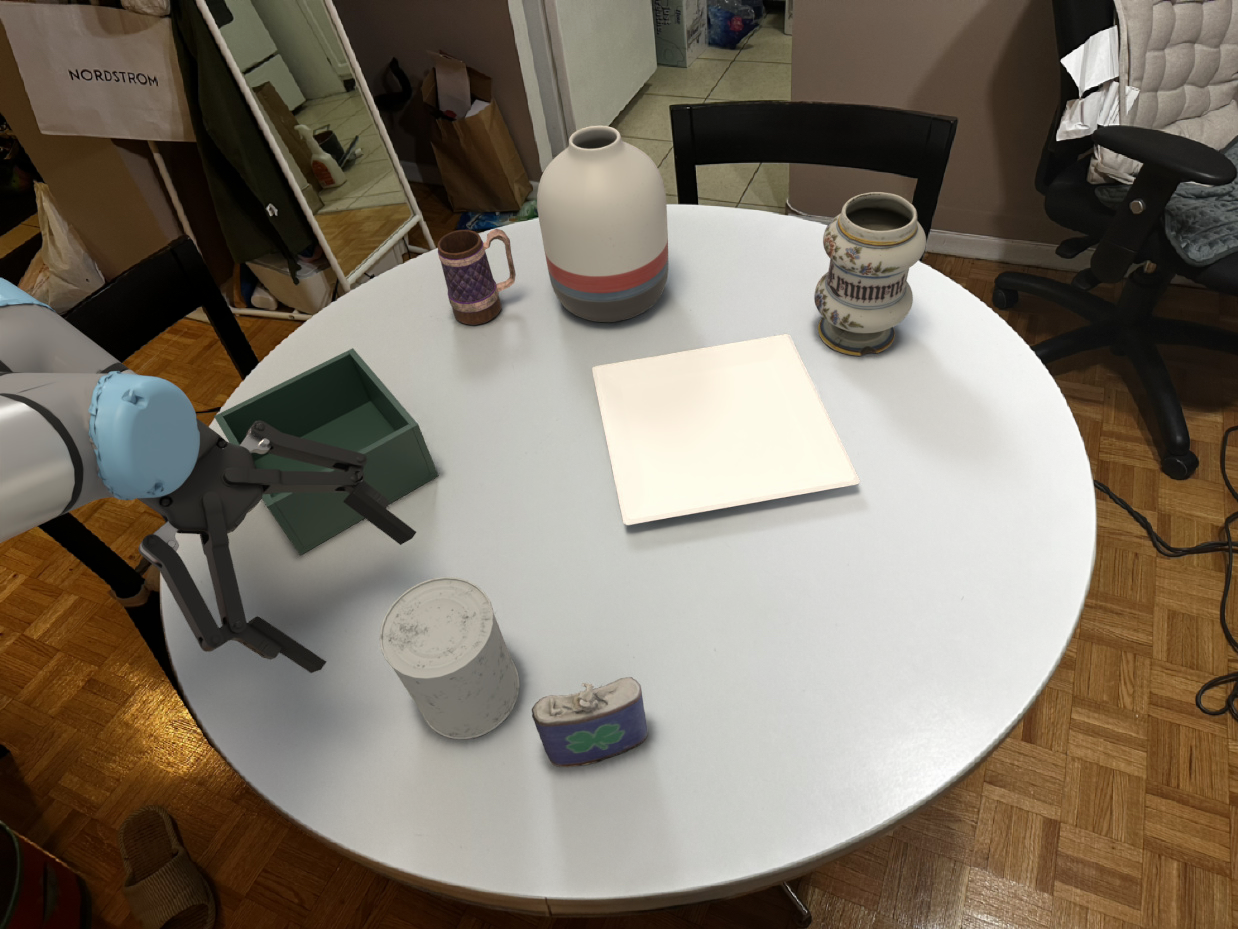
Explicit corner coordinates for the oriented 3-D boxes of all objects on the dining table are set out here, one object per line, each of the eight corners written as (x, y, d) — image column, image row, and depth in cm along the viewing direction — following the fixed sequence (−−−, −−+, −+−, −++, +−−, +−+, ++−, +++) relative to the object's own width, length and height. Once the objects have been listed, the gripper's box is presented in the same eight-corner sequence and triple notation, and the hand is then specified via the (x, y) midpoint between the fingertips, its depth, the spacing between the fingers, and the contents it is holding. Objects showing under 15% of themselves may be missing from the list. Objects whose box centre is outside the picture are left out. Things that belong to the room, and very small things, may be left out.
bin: (300, 555, 87) (266, 506, 80) (247, 466, 97) (213, 415, 90) (438, 475, 93) (418, 424, 86) (375, 399, 103) (352, 347, 96)
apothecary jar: (832, 370, 99) (852, 247, 86) (796, 314, 107) (809, 194, 94) (921, 350, 100) (954, 225, 87) (878, 296, 108) (903, 174, 95)
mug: (456, 331, 111) (434, 258, 102) (451, 301, 116) (430, 230, 107) (526, 316, 112) (511, 243, 103) (519, 287, 117) (504, 215, 108)
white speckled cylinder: (456, 631, 79) (423, 562, 69) (538, 666, 75) (514, 599, 66) (399, 714, 73) (355, 652, 64) (485, 756, 70) (451, 696, 61)
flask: (644, 717, 71) (636, 662, 63) (652, 747, 69) (645, 695, 61) (544, 742, 70) (524, 691, 62) (550, 774, 68) (529, 725, 60)
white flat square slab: (625, 535, 85) (623, 524, 83) (593, 377, 102) (591, 365, 101) (858, 494, 86) (861, 482, 84) (787, 344, 103) (789, 331, 102)
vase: (679, 265, 117) (675, 107, 99) (657, 337, 106) (648, 175, 89) (571, 258, 120) (548, 104, 103) (539, 327, 110) (507, 169, 92)
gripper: (240, 359, 71) (424, 503, 78) (11, 579, 56) (262, 733, 63) (261, 323, 65) (457, 481, 72) (13, 557, 51) (287, 729, 57)
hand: (366, 599), depth 68 cm, fingers open, 13 cm apart
